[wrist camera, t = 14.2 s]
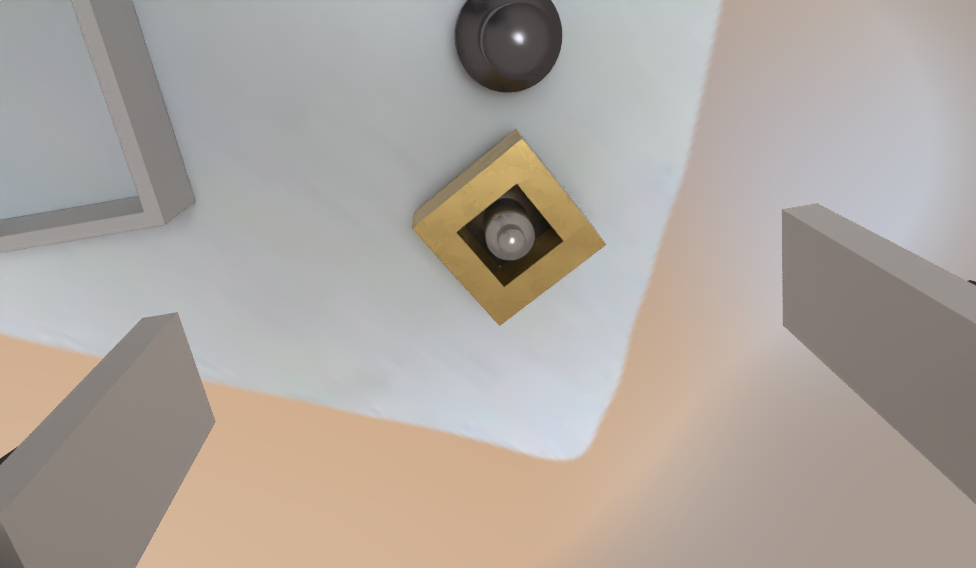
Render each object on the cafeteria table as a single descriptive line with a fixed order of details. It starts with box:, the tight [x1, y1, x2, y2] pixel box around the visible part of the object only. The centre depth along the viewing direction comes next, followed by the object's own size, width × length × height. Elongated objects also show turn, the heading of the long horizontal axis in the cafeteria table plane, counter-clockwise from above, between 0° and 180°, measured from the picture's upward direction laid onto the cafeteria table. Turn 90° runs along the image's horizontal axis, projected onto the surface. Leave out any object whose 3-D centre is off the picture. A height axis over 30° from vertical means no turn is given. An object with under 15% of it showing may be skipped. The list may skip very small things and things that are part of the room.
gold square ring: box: [412, 129, 606, 326], centre depth 48 cm, size 9×9×4 cm
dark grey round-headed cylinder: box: [455, 0, 562, 92], centre depth 44 cm, size 7×7×10 cm
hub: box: [464, 184, 552, 266], centre depth 49 cm, size 7×7×8 cm
